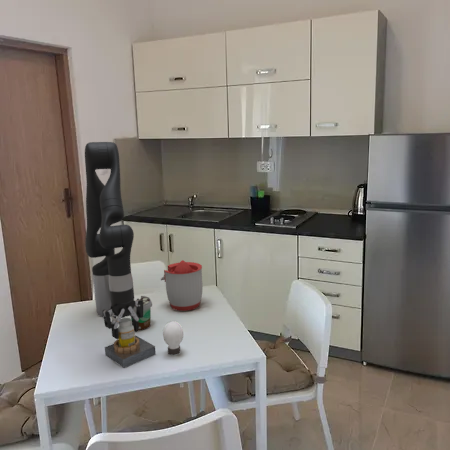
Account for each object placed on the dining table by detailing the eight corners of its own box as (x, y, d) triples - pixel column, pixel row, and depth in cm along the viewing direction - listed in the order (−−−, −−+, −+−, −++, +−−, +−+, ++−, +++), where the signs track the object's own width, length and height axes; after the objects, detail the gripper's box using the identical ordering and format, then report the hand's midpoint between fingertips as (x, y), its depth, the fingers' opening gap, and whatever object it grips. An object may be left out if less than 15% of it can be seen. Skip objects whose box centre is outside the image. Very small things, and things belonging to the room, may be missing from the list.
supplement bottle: (134, 350, 152) (131, 323, 150) (117, 351, 152) (114, 324, 150) (136, 343, 158) (134, 316, 156) (120, 344, 158) (118, 317, 156)
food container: (147, 333, 172) (144, 308, 170) (131, 332, 173) (128, 307, 171) (158, 319, 183) (156, 295, 181) (143, 319, 185) (141, 295, 183)
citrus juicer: (168, 299, 205) (164, 255, 201) (207, 299, 202) (204, 254, 198) (158, 313, 190) (154, 266, 186) (200, 314, 187) (197, 266, 183)
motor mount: (105, 355, 157) (103, 341, 156) (136, 343, 164) (135, 330, 163) (123, 368, 148) (122, 353, 147) (155, 354, 156) (154, 340, 155)
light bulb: (166, 359, 152) (163, 327, 150) (162, 349, 159) (160, 319, 156) (186, 355, 154) (184, 324, 152) (182, 346, 160) (180, 316, 158)
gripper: (134, 278, 158) (138, 324, 161) (95, 289, 148) (100, 338, 152) (146, 283, 152) (150, 331, 156) (106, 295, 143) (111, 345, 146)
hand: (125, 334), depth 154 cm, fingers open, 6 cm apart
